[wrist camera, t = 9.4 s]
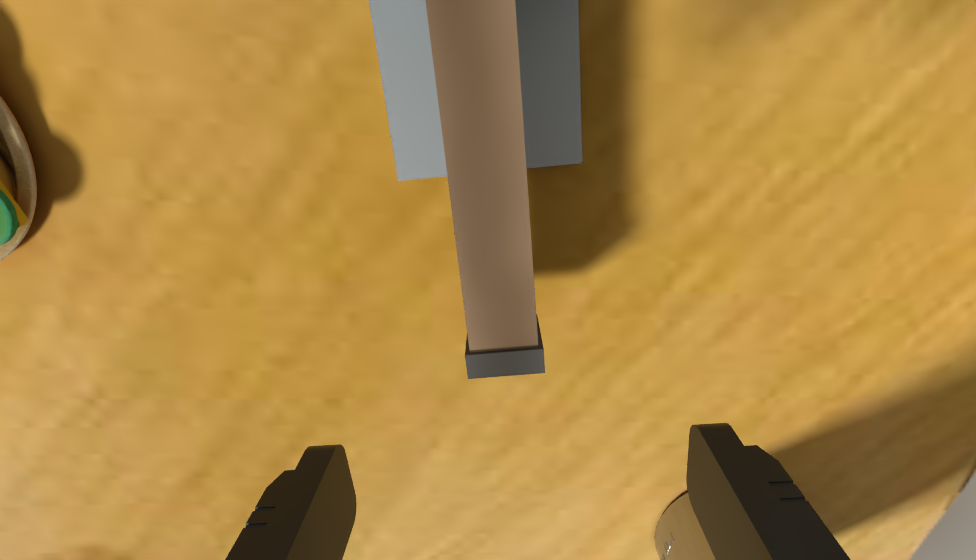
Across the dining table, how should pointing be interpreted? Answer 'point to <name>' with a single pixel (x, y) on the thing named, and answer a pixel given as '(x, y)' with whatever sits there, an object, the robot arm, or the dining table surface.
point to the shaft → (487, 181)
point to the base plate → (543, 73)
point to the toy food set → (14, 183)
